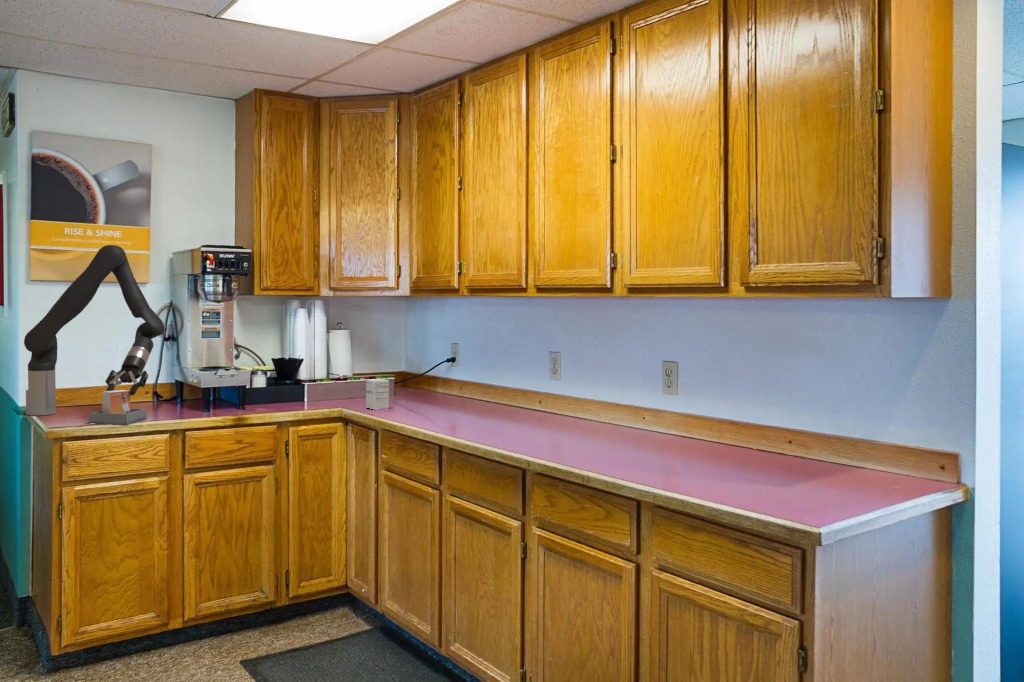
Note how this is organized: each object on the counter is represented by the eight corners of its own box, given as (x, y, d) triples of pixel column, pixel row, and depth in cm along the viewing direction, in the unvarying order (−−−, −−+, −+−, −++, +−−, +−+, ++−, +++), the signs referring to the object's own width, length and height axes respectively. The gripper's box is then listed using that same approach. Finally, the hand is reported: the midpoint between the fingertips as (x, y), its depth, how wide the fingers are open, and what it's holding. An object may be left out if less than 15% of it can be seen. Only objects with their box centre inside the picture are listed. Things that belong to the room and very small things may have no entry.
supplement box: (365, 408, 341) (365, 379, 340) (381, 407, 346) (381, 378, 345) (373, 411, 335) (373, 380, 335) (389, 409, 340) (389, 380, 339)
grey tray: (89, 424, 291) (89, 413, 291) (110, 418, 305) (110, 407, 305) (126, 425, 291) (126, 414, 290) (146, 419, 304) (146, 408, 304)
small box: (109, 421, 293) (109, 392, 292) (101, 419, 296) (101, 391, 296) (131, 418, 299) (130, 390, 299) (123, 417, 303) (122, 389, 302)
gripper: (114, 354, 307) (97, 387, 296) (150, 354, 306) (134, 388, 295) (121, 366, 313) (105, 399, 302) (157, 367, 312) (142, 400, 301)
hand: (119, 394), depth 299 cm, fingers open, 8 cm apart
